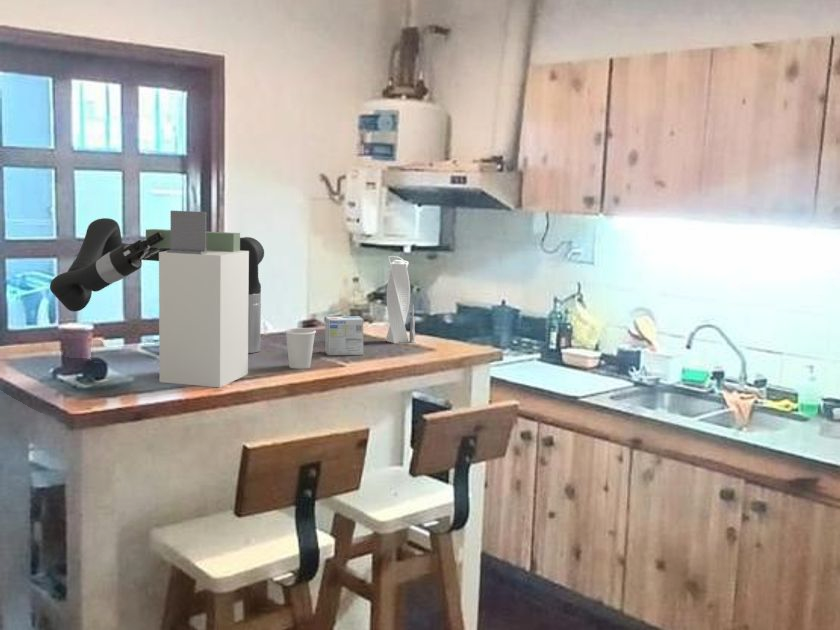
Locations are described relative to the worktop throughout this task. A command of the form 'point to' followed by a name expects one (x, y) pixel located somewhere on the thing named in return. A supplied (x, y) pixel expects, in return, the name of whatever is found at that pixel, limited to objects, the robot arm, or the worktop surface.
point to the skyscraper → (399, 303)
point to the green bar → (213, 240)
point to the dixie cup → (300, 347)
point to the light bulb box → (344, 335)
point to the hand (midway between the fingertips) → (168, 234)
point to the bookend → (188, 232)
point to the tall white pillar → (203, 317)
